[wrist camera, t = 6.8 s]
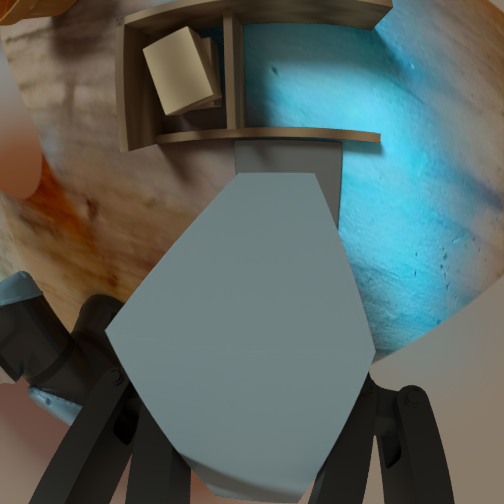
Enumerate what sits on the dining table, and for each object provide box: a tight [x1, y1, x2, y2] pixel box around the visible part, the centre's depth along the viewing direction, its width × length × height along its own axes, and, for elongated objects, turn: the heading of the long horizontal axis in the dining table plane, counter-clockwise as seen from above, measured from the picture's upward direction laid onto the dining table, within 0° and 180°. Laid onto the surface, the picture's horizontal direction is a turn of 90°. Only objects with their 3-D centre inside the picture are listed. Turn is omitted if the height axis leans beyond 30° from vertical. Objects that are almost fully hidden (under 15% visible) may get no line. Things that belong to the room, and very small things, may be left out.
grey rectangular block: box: [105, 173, 376, 503], centre depth 11 cm, size 4×12×12 cm, turn 3°
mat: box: [234, 140, 342, 228], centre depth 32 cm, size 12×14×1 cm
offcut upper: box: [143, 26, 223, 115], centre depth 22 cm, size 5×8×4 cm, turn 19°
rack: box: [115, 0, 393, 153], centre depth 22 cm, size 26×15×8 cm, turn 92°
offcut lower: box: [190, 37, 222, 111], centre depth 25 cm, size 5×8×4 cm, turn 4°
